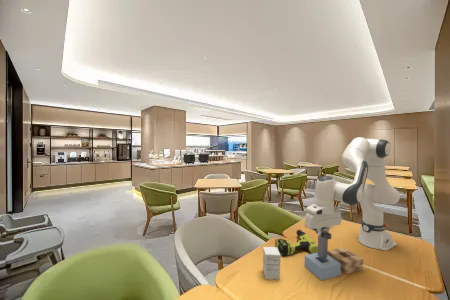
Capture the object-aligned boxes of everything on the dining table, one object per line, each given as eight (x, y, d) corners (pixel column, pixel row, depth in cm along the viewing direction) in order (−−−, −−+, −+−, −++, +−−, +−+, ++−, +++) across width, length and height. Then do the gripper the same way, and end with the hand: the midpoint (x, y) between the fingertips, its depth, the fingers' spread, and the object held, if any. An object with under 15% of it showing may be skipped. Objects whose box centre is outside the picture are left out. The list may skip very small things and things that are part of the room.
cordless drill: (267, 236, 145) (302, 235, 148) (280, 258, 121) (321, 256, 123) (268, 226, 145) (302, 226, 147) (281, 246, 120) (322, 244, 123)
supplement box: (262, 270, 109) (263, 246, 108) (276, 270, 108) (277, 246, 108) (264, 279, 101) (265, 254, 100) (280, 280, 101) (280, 254, 100)
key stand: (343, 257, 121) (343, 247, 120) (362, 269, 109) (363, 258, 109) (326, 261, 117) (326, 250, 117) (344, 274, 106) (345, 262, 105)
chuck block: (322, 262, 116) (322, 251, 116) (340, 275, 105) (340, 264, 104) (304, 266, 112) (304, 255, 112) (321, 280, 101) (321, 268, 101)
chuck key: (314, 252, 111) (315, 228, 111) (319, 251, 112) (320, 227, 112) (325, 261, 104) (326, 234, 103) (330, 260, 105) (332, 234, 104)
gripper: (334, 204, 113) (333, 229, 114) (303, 208, 106) (302, 234, 107) (344, 208, 107) (343, 234, 108) (312, 212, 101) (311, 240, 101)
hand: (323, 234), depth 107 cm, fingers closed on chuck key, 2 cm apart
